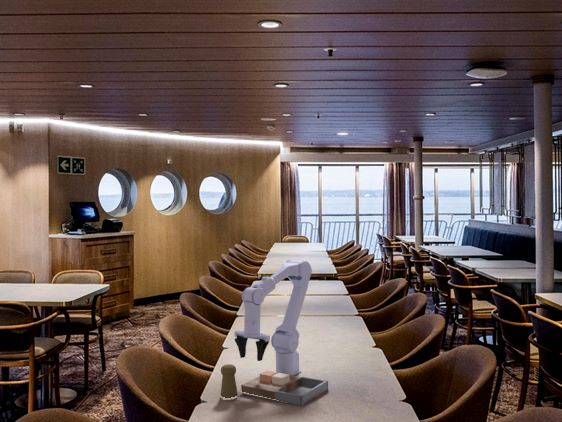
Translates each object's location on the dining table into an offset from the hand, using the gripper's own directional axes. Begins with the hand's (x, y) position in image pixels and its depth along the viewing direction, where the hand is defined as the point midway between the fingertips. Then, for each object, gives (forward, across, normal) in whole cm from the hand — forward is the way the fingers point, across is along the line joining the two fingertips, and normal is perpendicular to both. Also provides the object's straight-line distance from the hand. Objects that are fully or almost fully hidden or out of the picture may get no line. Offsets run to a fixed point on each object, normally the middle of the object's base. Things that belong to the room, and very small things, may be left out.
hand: (251, 358), depth 200 cm
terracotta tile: (+6, +7, +1) cm, 10 cm away
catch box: (+9, +21, +1) cm, 23 cm away
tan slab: (+10, +9, +1) cm, 13 cm away
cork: (+11, 0, -13) cm, 17 cm away
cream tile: (+6, +12, +1) cm, 14 cm away
